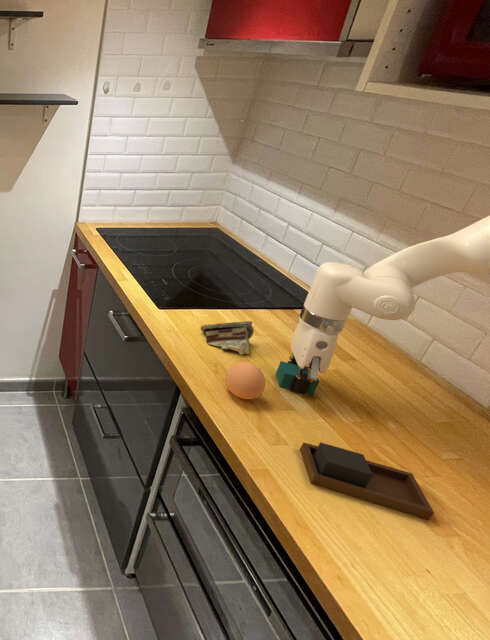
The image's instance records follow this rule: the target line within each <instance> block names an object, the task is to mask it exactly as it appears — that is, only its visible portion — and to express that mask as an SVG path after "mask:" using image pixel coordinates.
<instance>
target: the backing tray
mask: <svg viewBox="0 0 490 640" xmlns="http://www.w3.org/2000/svg"><path fill="white" fill-rule="evenodd" d="M318 446H319V445H316V444H315V445H314V444H311V443H308V442H302V444H301V446H300V448H299V451H300V454H301V457H302V461H303V464H304V467H305V470H306V473H307V476H308V480H309V482H310V484H311V485H314V486H318V487H321V488H324V489H326V490H330V491H333V492H337V493H340V494H343V495H346V496H349V497H352V498H356V499H359V500H361V501H365V502H369V503H372V504H374V505H378V506H381V507H384V508H388V509H391V510H395V511H397V512H401V513H404V514H406V515H411V516H413V517H416V518H420V519H423V520H425V521H430V520H431V518H432V517H433V515H434V514H435V511H434V510H433V508H432V506H431V504H430V503H429V501H428V499H427V497H426V495H425V493H424V492H423V490H422V488H421V487H420V484H419V483H418V481H417V479H416V477H415V476H414V474H413V473H412V472H408V471H405V470H402V469H398V468H395V467H392V466H387V465H384V464H381V463H377V462H374V461H370V460H367V459H366V461H367V463H368V466H369V468H370V470H371V472H372V474H373V476H372V478H371V479H370V481H369V483H368V484H367V486H366V488H362V487H359V486H356V485H353V484H349V483H346V482H343V481H339V480H336V479H333V478H330V477H326V476H323V475H320V474H318V471H317V468H316V465H315V462H314V459H313V456H314V454H315V452H316V450H317V448H318Z"/></svg>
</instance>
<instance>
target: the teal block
mask: <svg viewBox="0 0 490 640" xmlns="http://www.w3.org/2000/svg"><path fill="white" fill-rule="evenodd" d="M298 367H299V366H298V365H295V364H291V363H288V361H287V362H286V361H282V360H281V361H279V364H278V367H277V369H276V372H275V378H276V379H277V384H278V386H279V388H282V389H287V390H289V386H290V384H291V381H292V379H293V377H294V375H295V376H296V374H297V371H298ZM308 372H309V371H308V370H304V369H303V372H302V373H308ZM319 383H320V380H319V377H317V380H316V381H314V380H313V381H312V382H311V384H310V386H309V388H308V390H307V393H306V394H307V395H310V396H315V392H316V390H317V388H318V386H319ZM306 394H305V395H306Z"/></svg>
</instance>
